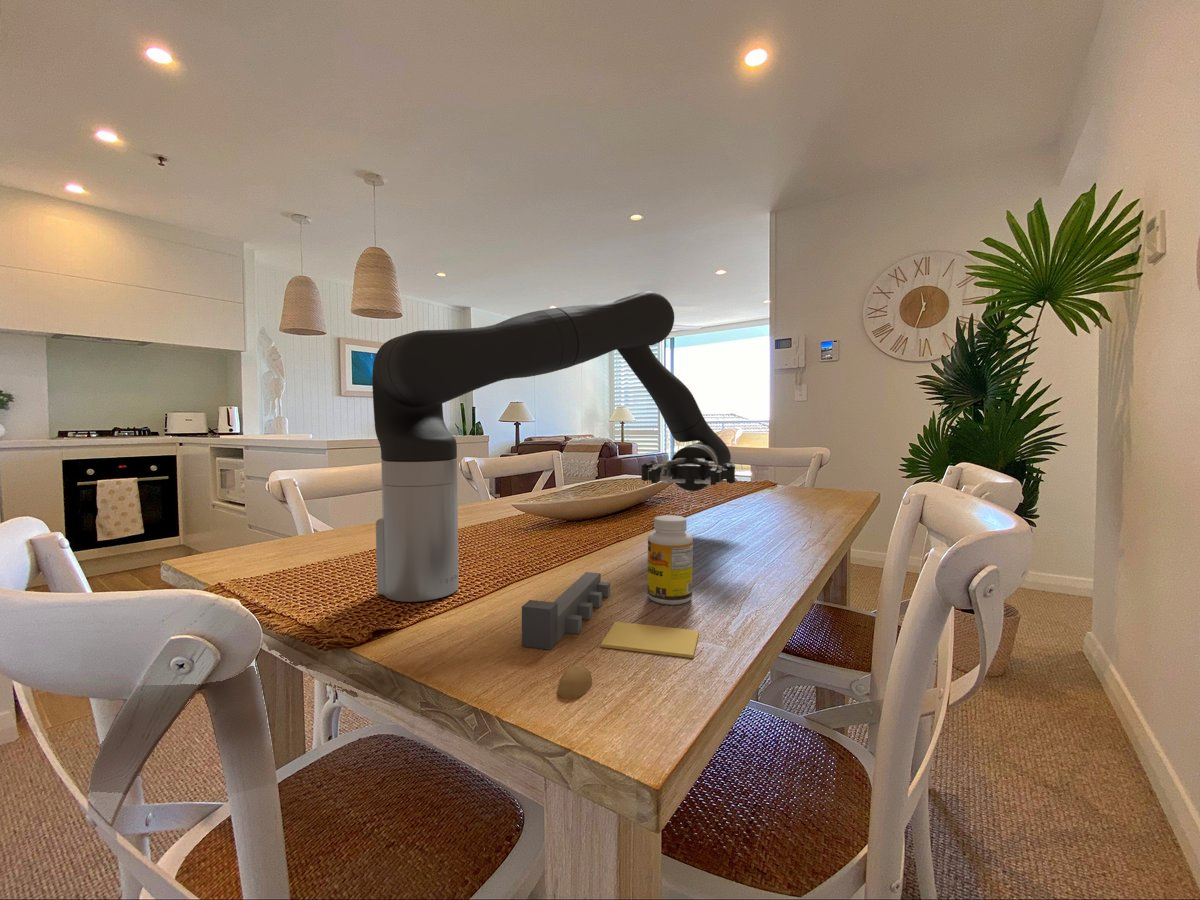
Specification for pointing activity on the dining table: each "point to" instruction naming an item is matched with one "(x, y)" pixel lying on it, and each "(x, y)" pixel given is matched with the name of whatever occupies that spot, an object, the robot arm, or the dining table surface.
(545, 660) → the dining table surface
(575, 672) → the potato
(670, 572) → the supplement bottle
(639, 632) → the yellow sticky note
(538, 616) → the cable comb
